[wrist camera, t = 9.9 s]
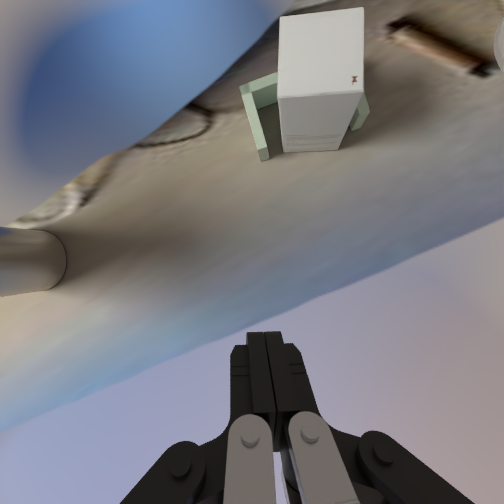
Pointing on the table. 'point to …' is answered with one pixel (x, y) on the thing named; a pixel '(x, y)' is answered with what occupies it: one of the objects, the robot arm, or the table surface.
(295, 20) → the supplement box
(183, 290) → the table surface
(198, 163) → the table surface
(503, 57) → the monster figurine
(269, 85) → the holder
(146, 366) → the table surface
